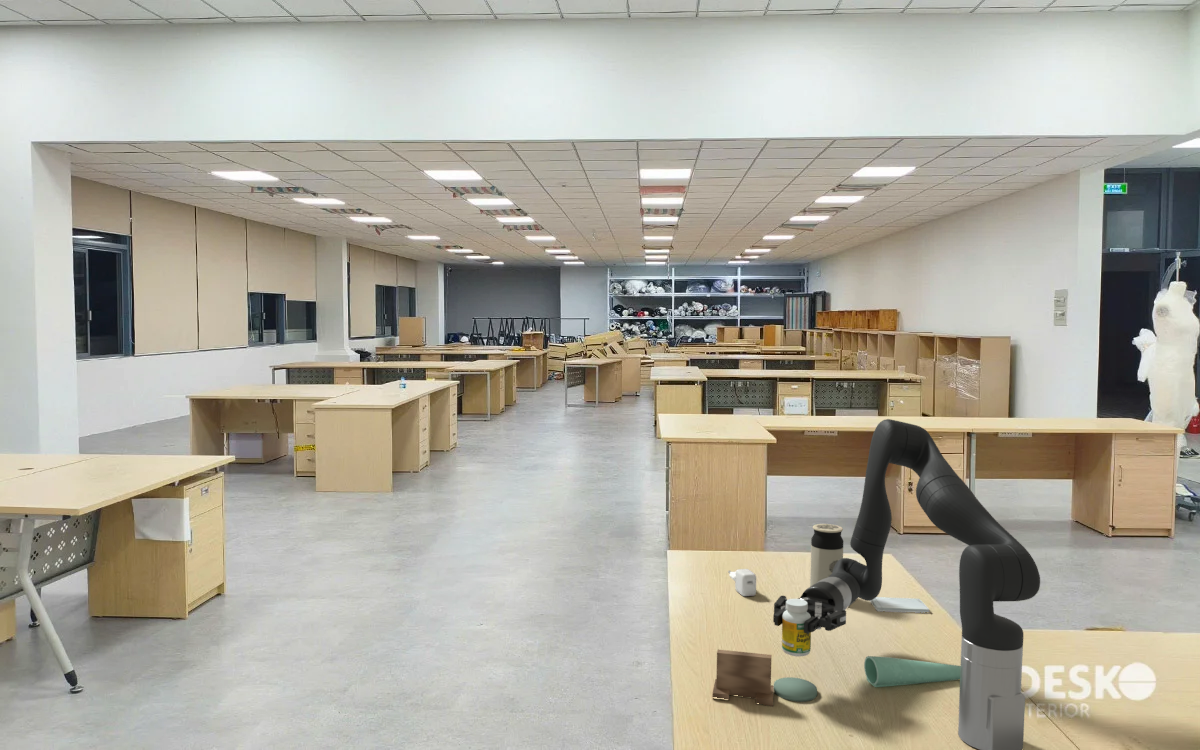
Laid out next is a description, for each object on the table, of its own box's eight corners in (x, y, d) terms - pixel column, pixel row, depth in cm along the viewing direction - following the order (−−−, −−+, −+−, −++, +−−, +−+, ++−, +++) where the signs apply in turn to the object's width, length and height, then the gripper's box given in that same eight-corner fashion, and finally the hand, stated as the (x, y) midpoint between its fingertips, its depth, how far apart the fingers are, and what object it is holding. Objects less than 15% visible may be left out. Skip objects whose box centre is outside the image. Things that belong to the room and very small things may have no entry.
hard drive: (919, 597, 202) (869, 595, 203) (929, 609, 194) (877, 606, 195) (919, 604, 202) (868, 602, 203) (929, 615, 194) (877, 613, 195)
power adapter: (724, 584, 214) (725, 562, 214) (741, 582, 216) (742, 561, 215) (741, 597, 204) (741, 575, 203) (758, 596, 205) (759, 574, 204)
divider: (773, 691, 151) (774, 650, 150) (772, 706, 145) (773, 663, 145) (715, 685, 153) (716, 644, 153) (712, 699, 148) (713, 657, 147)
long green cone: (1004, 655, 156) (878, 662, 152) (1003, 682, 157) (877, 690, 152) (987, 644, 162) (864, 651, 157) (986, 671, 162) (863, 678, 158)
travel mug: (804, 591, 209) (806, 523, 208) (833, 589, 210) (835, 522, 209) (818, 601, 201) (819, 531, 200) (847, 600, 203) (849, 530, 201)
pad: (824, 699, 148) (824, 694, 148) (784, 703, 146) (784, 698, 146) (805, 680, 156) (805, 675, 156) (766, 684, 154) (766, 679, 154)
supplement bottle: (795, 643, 155) (796, 595, 154) (816, 653, 150) (817, 603, 149) (775, 649, 152) (776, 600, 151) (796, 659, 147) (797, 609, 146)
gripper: (794, 574, 166) (756, 596, 152) (862, 589, 157) (828, 614, 144) (793, 609, 166) (755, 634, 153) (861, 626, 157) (827, 654, 144)
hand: (791, 624), depth 148 cm, fingers closed on supplement bottle, 5 cm apart
